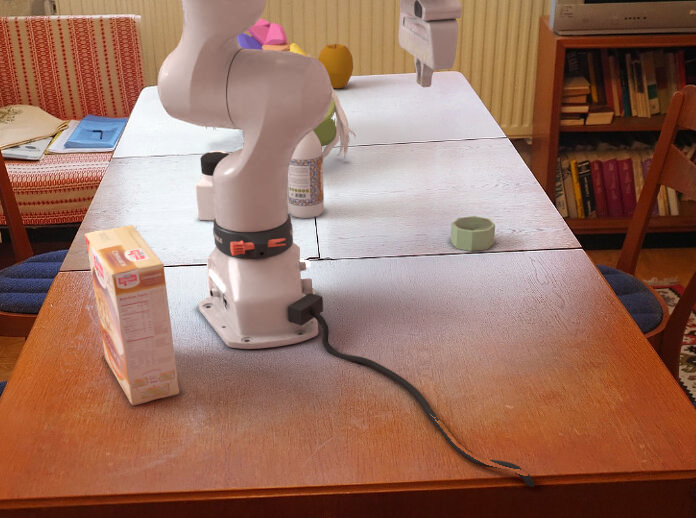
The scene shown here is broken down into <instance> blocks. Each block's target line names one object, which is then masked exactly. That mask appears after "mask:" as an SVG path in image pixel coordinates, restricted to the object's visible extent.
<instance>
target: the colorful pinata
mask: <svg viewBox="0 0 696 518" xmlns="http://www.w3.org/2000/svg"><path fill="white" fill-rule="evenodd" d="M246 32H248V33H249V34H250V35H249V34H247V33H246ZM237 40H238V43H239V45H240V46H241V47H242V48H246V49H259V50H278V51H290V52H294V53H298V54H302V55H305V56H308V57H311V54H309V53H306V52H305V51H304V50H303V49H302V48H301V47H300V46H299V45H298V44H297V43H296V42H290V41H289V40H288V36H287V34H286V31H285V29H284V27H283V25H281V24H279V23H276V22H272V23H271V22H270V21H268V20H267V19H265V18H262V17H260V19H259V20H258V21H257V22H256V23H255V24H254V25H253V26H252V27H251V28H250V29H248V30H247V31H245V32H244V33H242V34H240V35H238V36H237ZM331 86H332V85H331ZM334 89H335V88H333V87H332V99H331V104H330V107H329V110H328V112H327V114H326V116H325V118H324V119H323V121H322V122H321V123H320V124H319V125H318V126H317V127H316V128H315V129H313V131H314V133H315V134H316V135H317V137H318V139H319V141H320V143H321V146H322V148H323V147H324V149H323V150H322V152H323V160H324V159H326V157H328V156H329V154H330V153H331V152H332V150H333V149H334V148H335V146H336V145H337V144H338V143H339V151H338V154H337V155H336V157H338V156H341V154H342V153H343V156H342V157H343V159H345V158H346V156H347V155H348V154H347V153H348V149H349V145H350V142H351V139H350V135H349V134H350V133H351V134H352V135H353V138H354V140H356V138H357V137H356V133H355V131H354V130H352V129H351V128H350V126H349V121H348V118H347V115H346V113H345V111H344V109H343V107H342V105H341V102H340V99H339V97H338V95H337V93H336V92H335V90H334ZM334 115H335V118H333V117H334ZM207 128H208V127H205V129H207ZM212 128H213V130H214V131H215V130H216V131H217V129H216V127H212Z"/></svg>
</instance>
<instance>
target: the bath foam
mask: <svg viewBox="0 0 696 518" xmlns="http://www.w3.org/2000/svg"><path fill="white" fill-rule="evenodd" d="M324 191H325V190H324V159H323V147H322V146H321V143H320V141H319V139H318V137H317V135H316V134H315V133H314V131H313V130H312V131H311V132H309V133H308V134H307V135H306V136H305V137H304V138H303V139H302V140H301V142H300V143H299V144H298V146H297V147H296V149H295V151H294V153H293V155H292V158H291V161H290V165H289V170H288V214H289V215H290V216H292V217H294V218H298V219H299V218H300V219H309V218H315V217H318V216H320V215H321V214H323V212H324V210H325V201H324V199H325V198H324V197H325V193H324Z"/></svg>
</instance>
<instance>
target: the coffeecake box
mask: <svg viewBox="0 0 696 518" xmlns="http://www.w3.org/2000/svg"><path fill="white" fill-rule="evenodd" d="M84 237H85V243H86V248H87V255H88V260H89V267H90V272H91V279H92V284H93V290H94V291H93V292H94V297H95V302H96V308H97V314H98V315H97V316H98V320H99V326H100V332H101V338H102V345H103V350H104V359H105V360H106V362H107V364H108V366H109V368H110V369H111V371H112V373H113V375H114V377H115V378H116V380H117V382H118V383H119V385H120V387H121V389H122V391H123V392H124V394H125V396H126V397H127V400H128V401H129V403H130V404H131V406H136V405H137V406H138V405H140V404H144V403H149V402H151V401H155V400H158V399H163V398H168V397H172V396H176V395H179V394H180V389H179V380H178V372H177V365H176V355H175V349H174V348H175V347H174V340H173V330H172V323H171V315H170V306H169V299H168V298H169V297H168V291H167V282H166V275H165V266H164V265H165V264H164V263H163V262H162V260H161V259H160V258H159V256H158V255H157V253H155V251H154V250H153V249H152V247H151V246H150V245H149V243H147V241H146V240H145V239H144V237H142V235H141V234H140V233H139V231H138V230H137V229H136V227H135V226H134V225H132V224H130V225H125V226H119V227H115V228H108V229H99V230H95V231H90V232H86V233H85V234H84Z"/></svg>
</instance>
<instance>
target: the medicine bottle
mask: <svg viewBox="0 0 696 518" xmlns="http://www.w3.org/2000/svg"><path fill="white" fill-rule="evenodd" d="M229 154H231V153H230V152H227V151H224V150H212V151H208V152H206V153H204V154H203V155H202V156H200V157H199V158H200V170H201V178H200V179H199V180H198V181H197V183H196V184H195V194H196V205H197V206H196V207H197V214H198V216H197V217H198V220H200V221H211V222H212V221H213V222H214V219H215V218H216V216H215V205H214V194H213V182H212V177H213V173H214V170H215V168H216V166H217V164H218V163H219V162H220V161H221V160H222V159H223V158H225V157H226V156H228V155H229Z"/></svg>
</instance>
